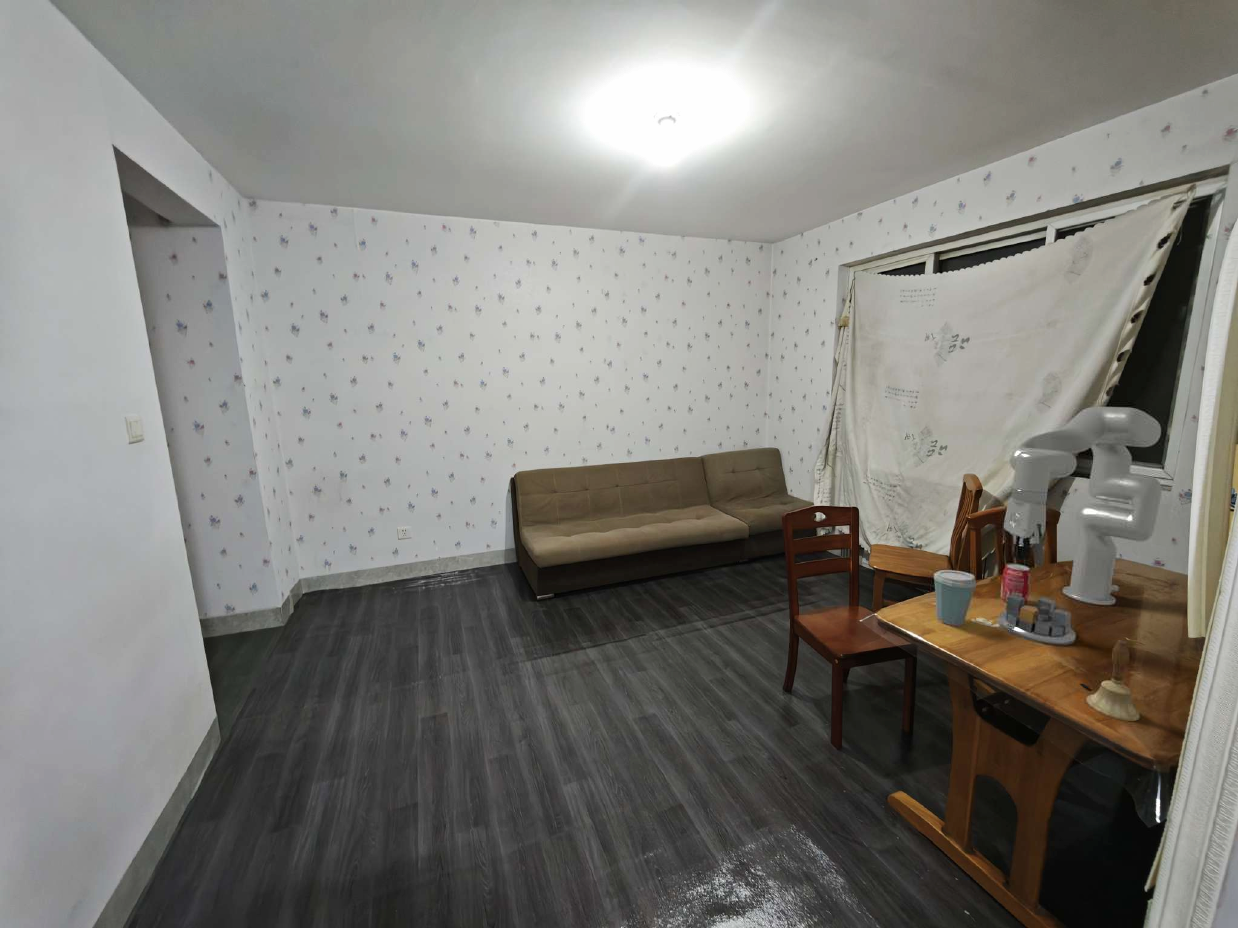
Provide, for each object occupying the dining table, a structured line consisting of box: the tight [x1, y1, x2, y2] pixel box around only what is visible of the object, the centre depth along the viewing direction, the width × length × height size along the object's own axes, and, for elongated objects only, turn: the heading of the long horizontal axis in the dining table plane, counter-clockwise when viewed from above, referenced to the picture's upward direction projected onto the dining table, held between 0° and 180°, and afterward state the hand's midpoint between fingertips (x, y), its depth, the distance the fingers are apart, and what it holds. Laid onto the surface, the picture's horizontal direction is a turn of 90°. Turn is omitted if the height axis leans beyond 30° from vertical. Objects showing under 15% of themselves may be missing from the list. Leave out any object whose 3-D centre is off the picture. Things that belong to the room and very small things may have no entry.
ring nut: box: [1004, 595, 1072, 636], centre depth 139 cm, size 14×14×6 cm
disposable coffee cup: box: [933, 569, 977, 627], centre depth 145 cm, size 11×11×15 cm
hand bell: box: [1085, 639, 1141, 722], centre depth 105 cm, size 8×8×16 cm
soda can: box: [1000, 563, 1032, 605], centre depth 157 cm, size 7×7×12 cm
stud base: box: [997, 611, 1077, 646], centre depth 140 cm, size 17×17×5 cm
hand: (1020, 558), depth 138 cm, fingers closed
